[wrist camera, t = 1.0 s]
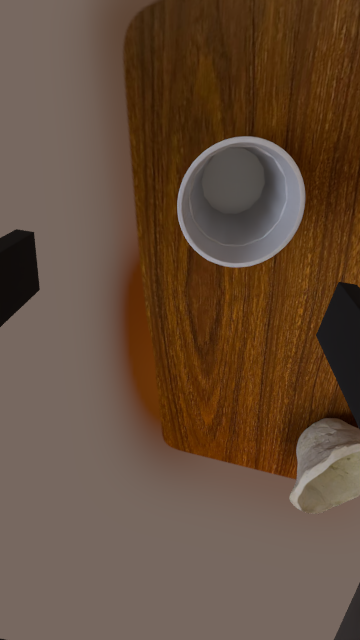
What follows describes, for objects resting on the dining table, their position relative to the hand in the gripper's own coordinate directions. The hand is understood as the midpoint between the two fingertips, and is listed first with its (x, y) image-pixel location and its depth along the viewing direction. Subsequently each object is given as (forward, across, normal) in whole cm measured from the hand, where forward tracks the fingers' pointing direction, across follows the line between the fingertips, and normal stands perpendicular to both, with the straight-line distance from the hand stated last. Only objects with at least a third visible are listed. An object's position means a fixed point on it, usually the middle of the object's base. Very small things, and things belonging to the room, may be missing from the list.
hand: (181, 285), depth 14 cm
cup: (+21, +3, +2) cm, 21 cm away
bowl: (+21, +23, -29) cm, 43 cm away
